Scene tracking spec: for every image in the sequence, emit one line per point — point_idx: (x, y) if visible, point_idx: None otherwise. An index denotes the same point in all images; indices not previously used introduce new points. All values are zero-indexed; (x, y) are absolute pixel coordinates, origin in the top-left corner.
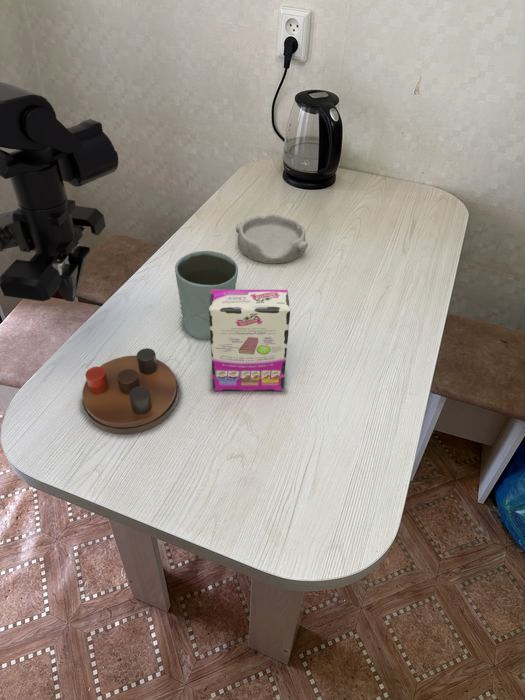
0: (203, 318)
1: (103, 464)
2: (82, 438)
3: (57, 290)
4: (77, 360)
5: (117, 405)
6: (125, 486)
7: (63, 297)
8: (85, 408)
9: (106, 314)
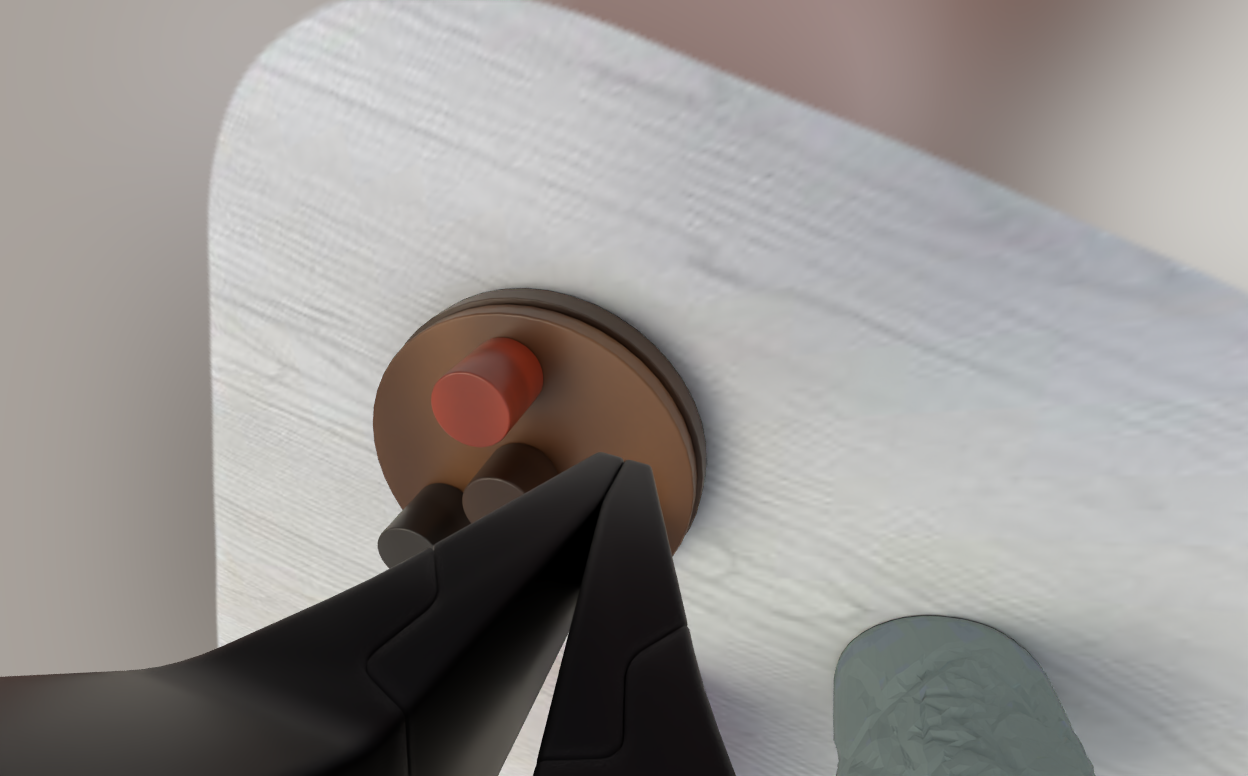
0: (838, 770)
1: (302, 383)
2: (362, 311)
3: (499, 509)
4: (738, 206)
5: (440, 439)
6: (266, 440)
7: (571, 469)
8: (438, 319)
9: (1132, 289)
